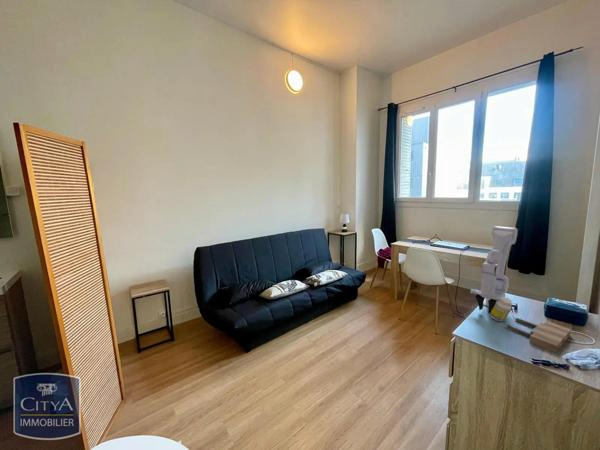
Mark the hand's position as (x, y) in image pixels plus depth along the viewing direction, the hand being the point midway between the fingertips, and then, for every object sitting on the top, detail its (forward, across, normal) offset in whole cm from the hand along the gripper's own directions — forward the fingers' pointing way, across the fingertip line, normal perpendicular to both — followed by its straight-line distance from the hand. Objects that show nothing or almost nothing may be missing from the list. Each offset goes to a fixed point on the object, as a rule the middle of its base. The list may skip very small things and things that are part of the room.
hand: (485, 310), depth 127 cm
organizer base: (+2, +20, 0) cm, 20 cm away
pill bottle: (+2, +5, 0) cm, 5 cm away
